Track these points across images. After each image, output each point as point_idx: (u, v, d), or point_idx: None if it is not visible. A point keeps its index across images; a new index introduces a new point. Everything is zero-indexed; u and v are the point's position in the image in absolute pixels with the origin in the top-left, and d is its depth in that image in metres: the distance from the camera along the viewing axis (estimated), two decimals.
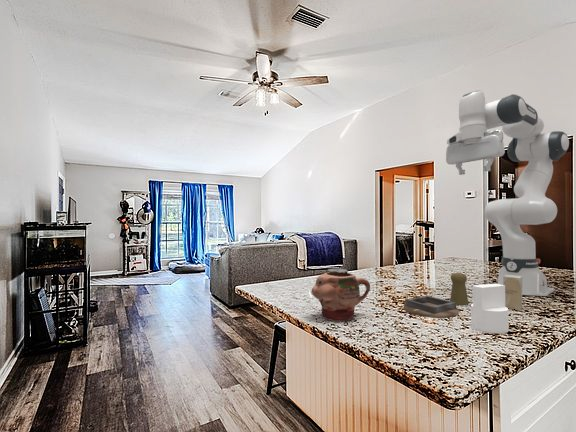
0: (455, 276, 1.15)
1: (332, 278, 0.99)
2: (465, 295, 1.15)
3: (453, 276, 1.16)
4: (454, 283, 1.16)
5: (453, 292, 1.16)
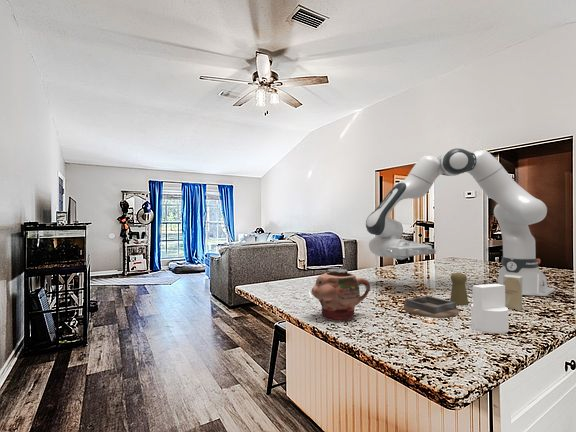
0: (455, 276, 1.15)
1: (332, 278, 0.99)
2: (465, 295, 1.15)
3: (453, 276, 1.16)
4: (454, 283, 1.16)
5: (453, 292, 1.16)
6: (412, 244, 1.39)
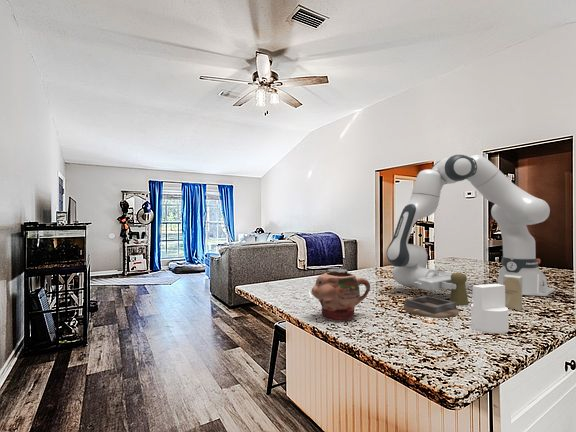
0: (455, 276, 1.15)
1: (332, 278, 0.99)
2: (465, 295, 1.15)
3: (453, 276, 1.16)
4: (454, 283, 1.16)
5: (453, 292, 1.16)
6: (442, 274, 1.27)
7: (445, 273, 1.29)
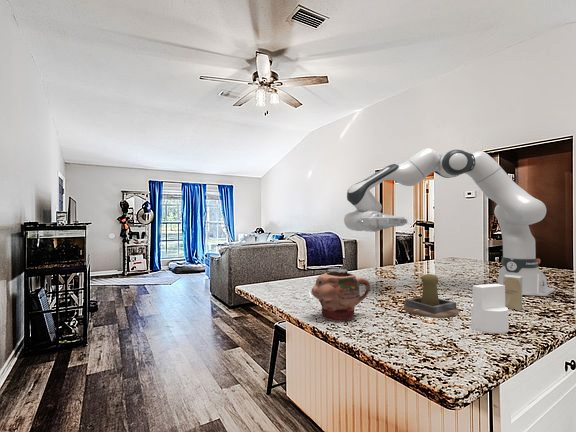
0: (426, 278, 1.08)
1: (332, 278, 0.99)
2: (436, 298, 1.07)
3: (424, 278, 1.08)
4: (425, 285, 1.08)
5: (424, 295, 1.08)
6: (385, 216, 1.37)
7: (389, 215, 1.39)
